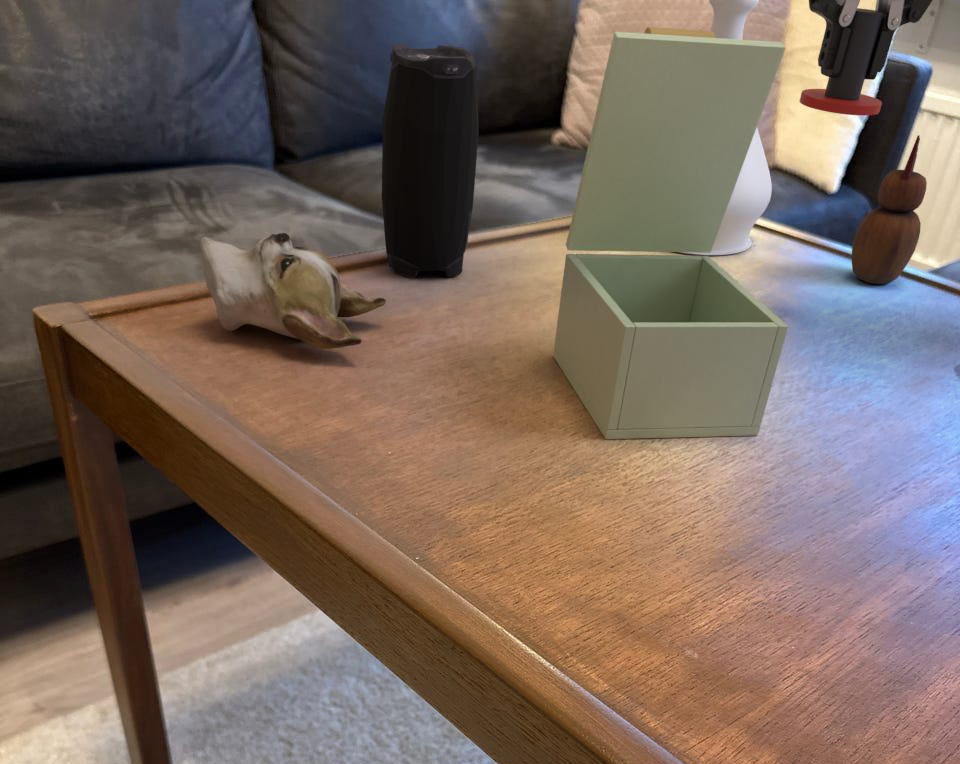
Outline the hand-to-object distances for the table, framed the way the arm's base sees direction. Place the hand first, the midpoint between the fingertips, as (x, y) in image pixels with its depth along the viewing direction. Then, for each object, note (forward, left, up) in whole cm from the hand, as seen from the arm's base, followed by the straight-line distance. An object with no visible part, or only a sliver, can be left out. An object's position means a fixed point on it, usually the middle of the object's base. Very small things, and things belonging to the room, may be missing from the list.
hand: (847, 75), depth 86 cm
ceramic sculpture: (+43, -24, -21) cm, 54 cm away
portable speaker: (+21, -30, -21) cm, 43 cm away
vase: (-14, -21, -21) cm, 33 cm away
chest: (+27, +3, -21) cm, 35 cm away
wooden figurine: (-19, +1, -21) cm, 28 cm away
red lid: (0, 0, -2) cm, 2 cm away
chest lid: (+24, -1, -4) cm, 25 cm away
